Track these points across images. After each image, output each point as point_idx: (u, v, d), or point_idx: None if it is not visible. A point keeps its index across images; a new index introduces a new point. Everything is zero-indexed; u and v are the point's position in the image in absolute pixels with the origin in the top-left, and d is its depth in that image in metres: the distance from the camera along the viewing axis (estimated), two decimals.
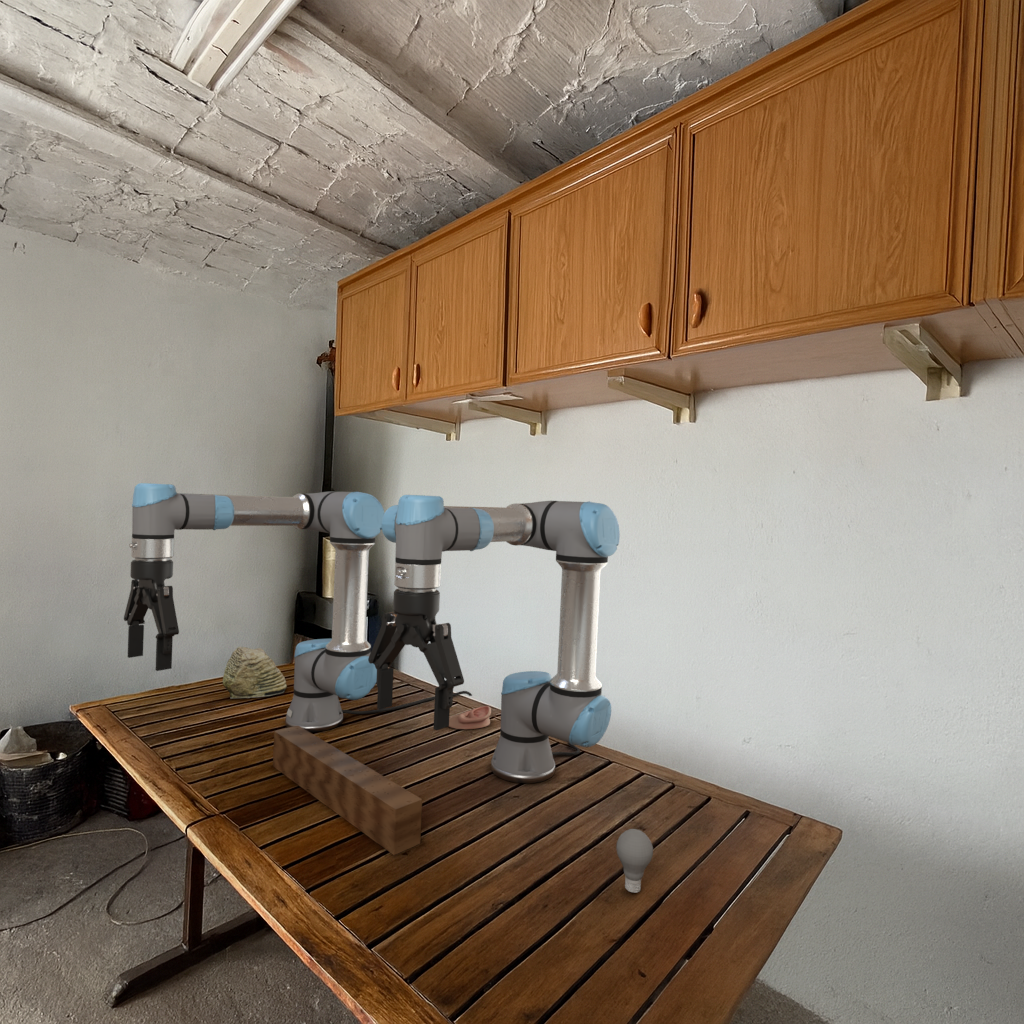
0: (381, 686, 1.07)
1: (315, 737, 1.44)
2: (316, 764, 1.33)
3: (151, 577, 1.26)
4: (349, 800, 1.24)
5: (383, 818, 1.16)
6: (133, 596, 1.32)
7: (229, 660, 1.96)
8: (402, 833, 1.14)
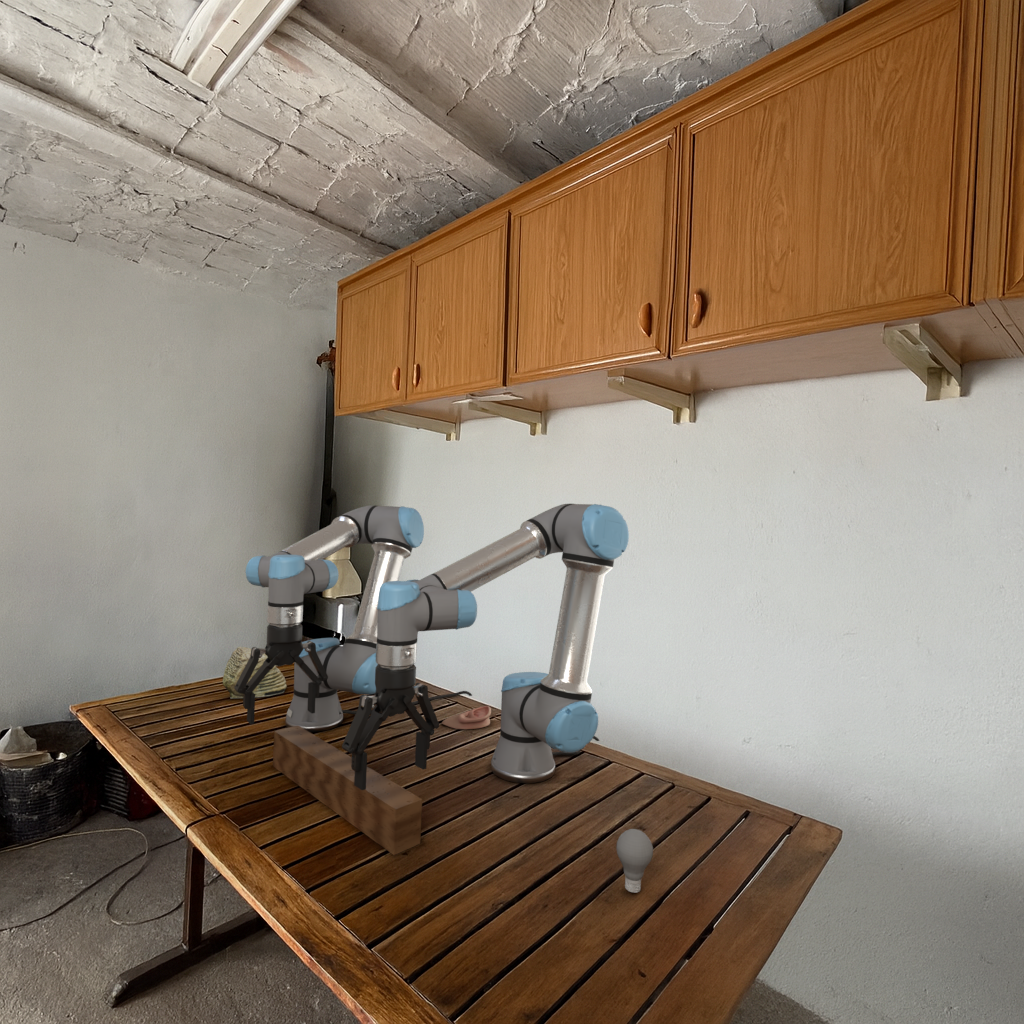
0: (366, 767, 1.14)
1: (315, 737, 1.44)
2: (316, 764, 1.33)
3: (301, 637, 1.44)
4: (349, 800, 1.24)
5: (383, 818, 1.16)
6: None
7: (229, 660, 1.96)
8: (402, 833, 1.14)
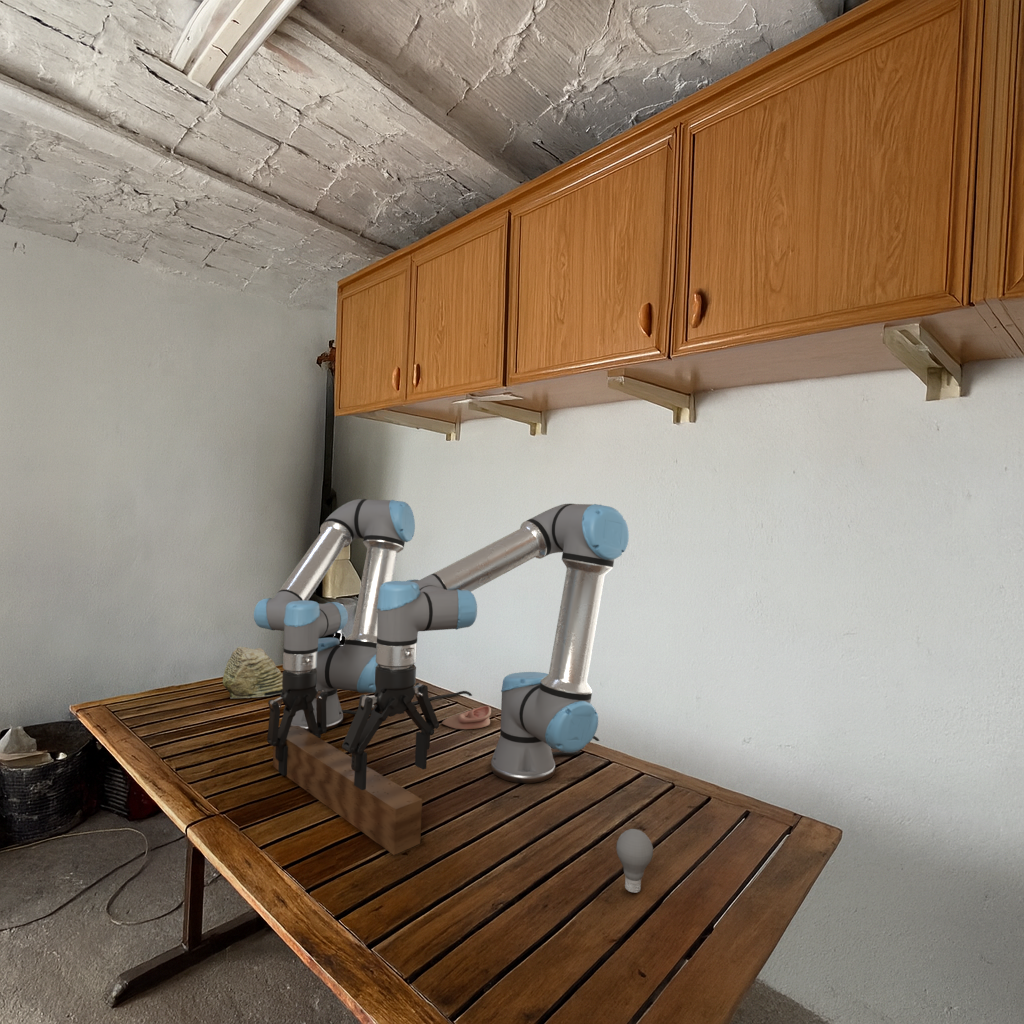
0: (366, 767, 1.14)
1: (315, 737, 1.44)
2: (316, 764, 1.33)
3: None
4: (348, 800, 1.24)
5: (383, 818, 1.16)
6: None
7: (229, 660, 1.96)
8: (402, 833, 1.14)
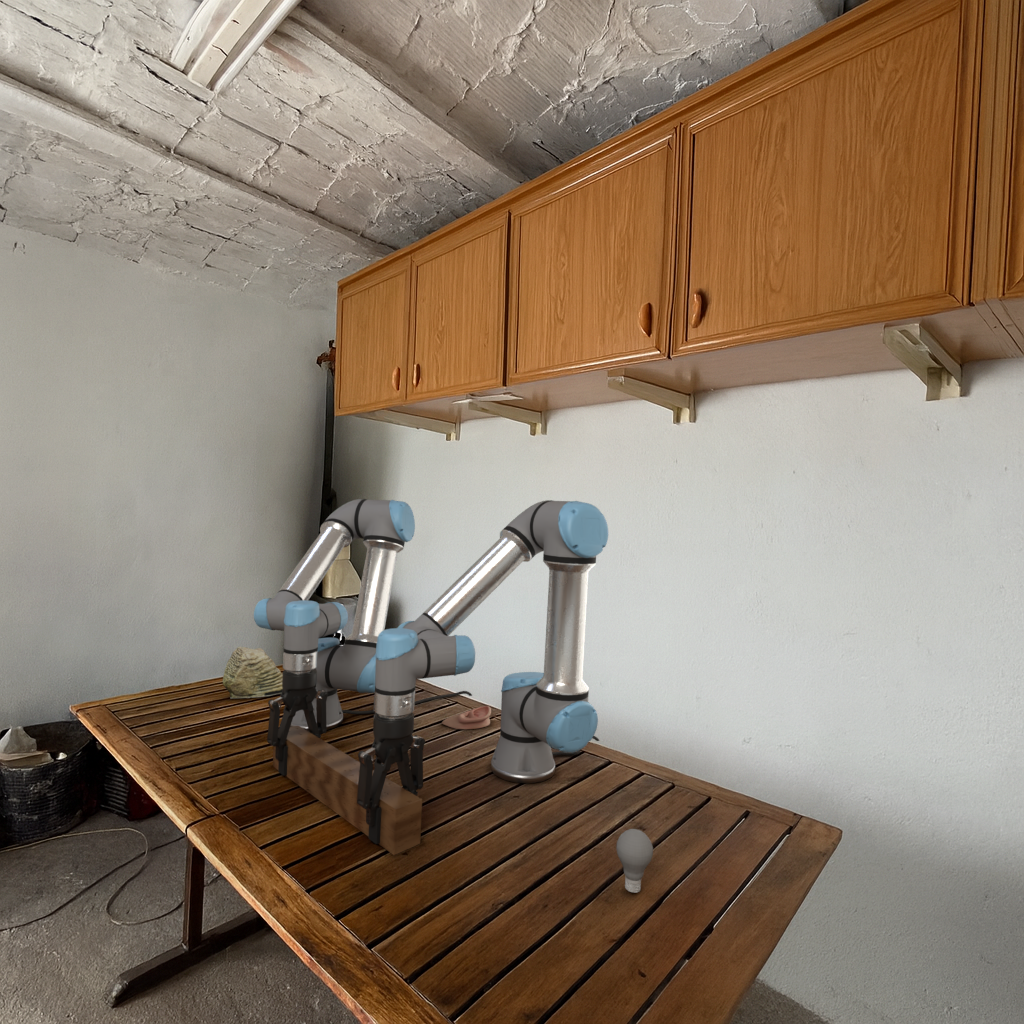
0: (380, 821, 1.16)
1: (315, 737, 1.44)
2: (316, 764, 1.33)
3: None
4: (348, 800, 1.24)
5: (383, 818, 1.16)
6: None
7: (229, 660, 1.96)
8: (402, 833, 1.14)
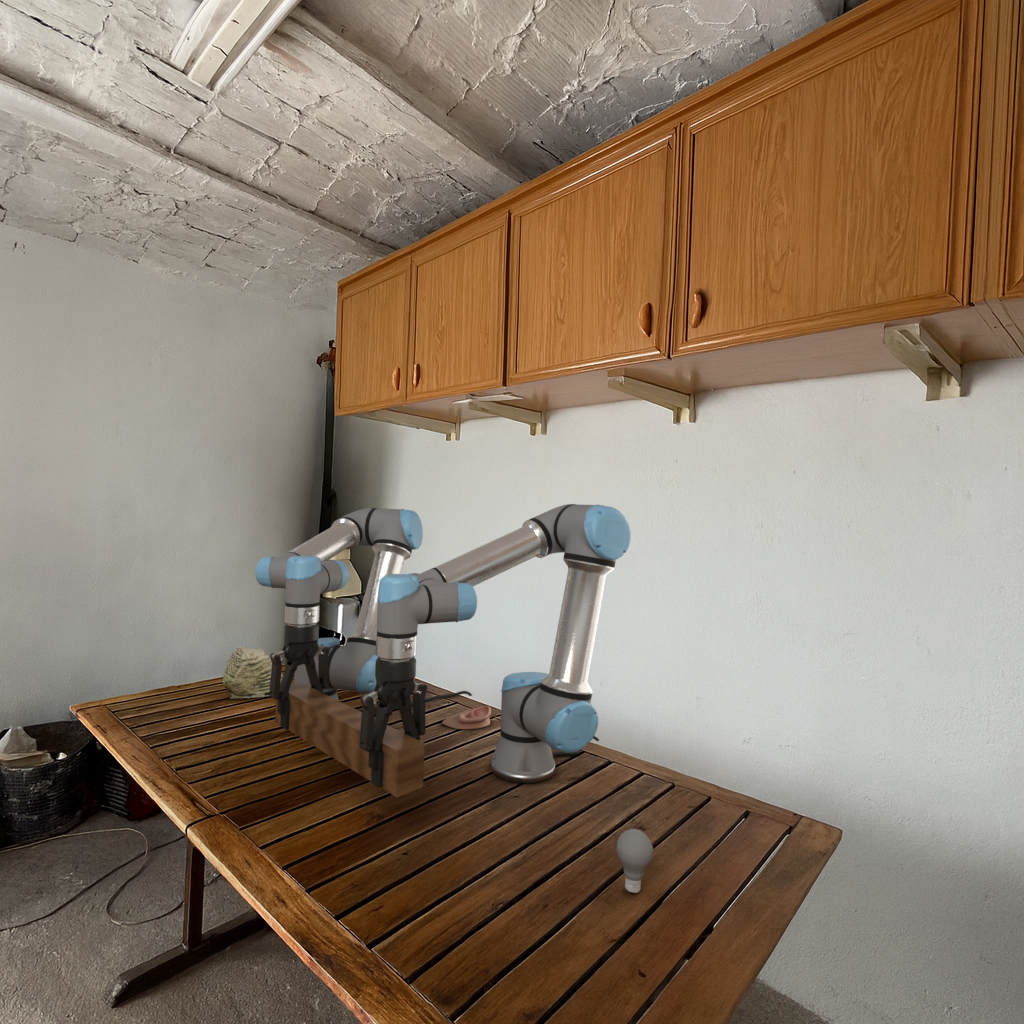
0: (382, 765, 1.16)
1: (317, 691, 1.44)
2: (319, 715, 1.33)
3: (318, 637, 1.46)
4: (351, 747, 1.24)
5: (386, 761, 1.15)
6: None
7: (229, 660, 1.96)
8: (405, 776, 1.14)
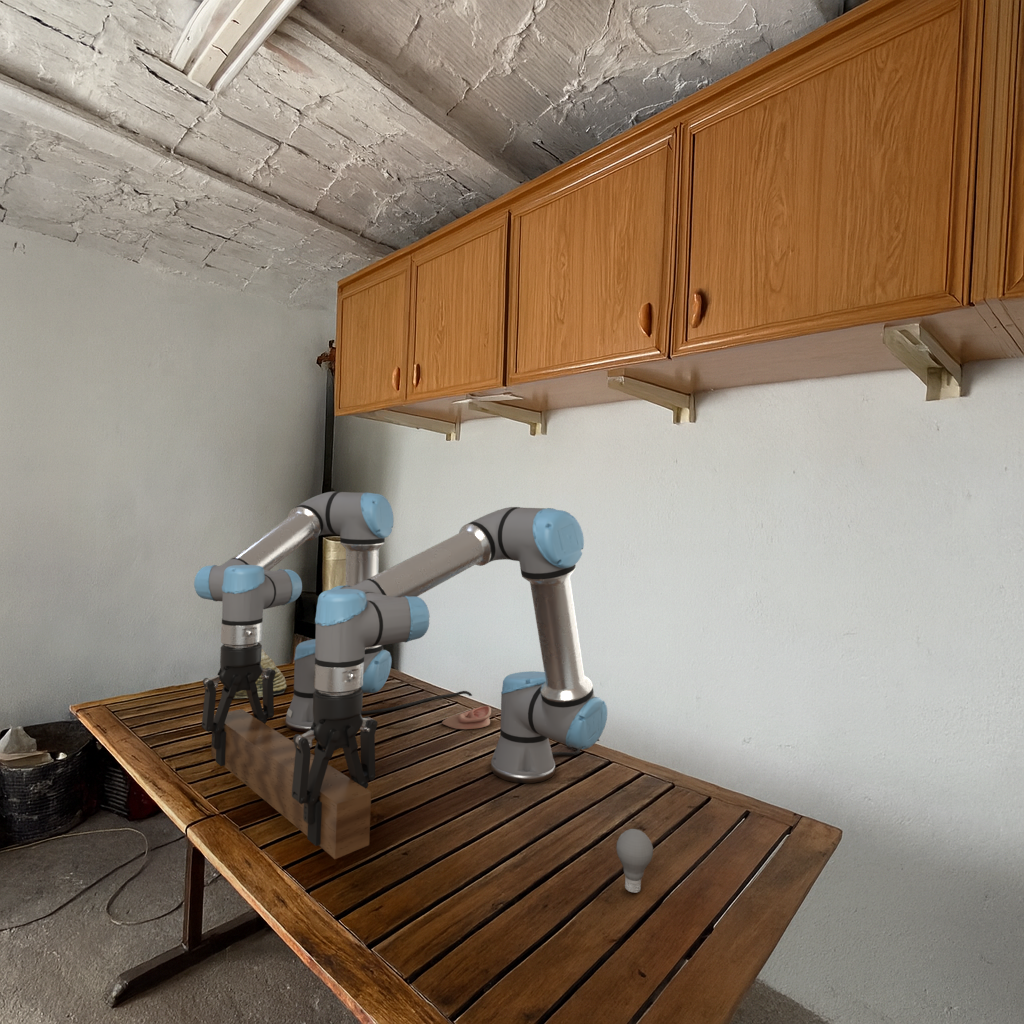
0: (320, 818, 0.97)
1: (258, 722, 1.25)
2: (255, 752, 1.14)
3: None
4: (287, 793, 1.05)
5: (324, 814, 0.96)
6: None
7: None
8: (345, 832, 0.95)
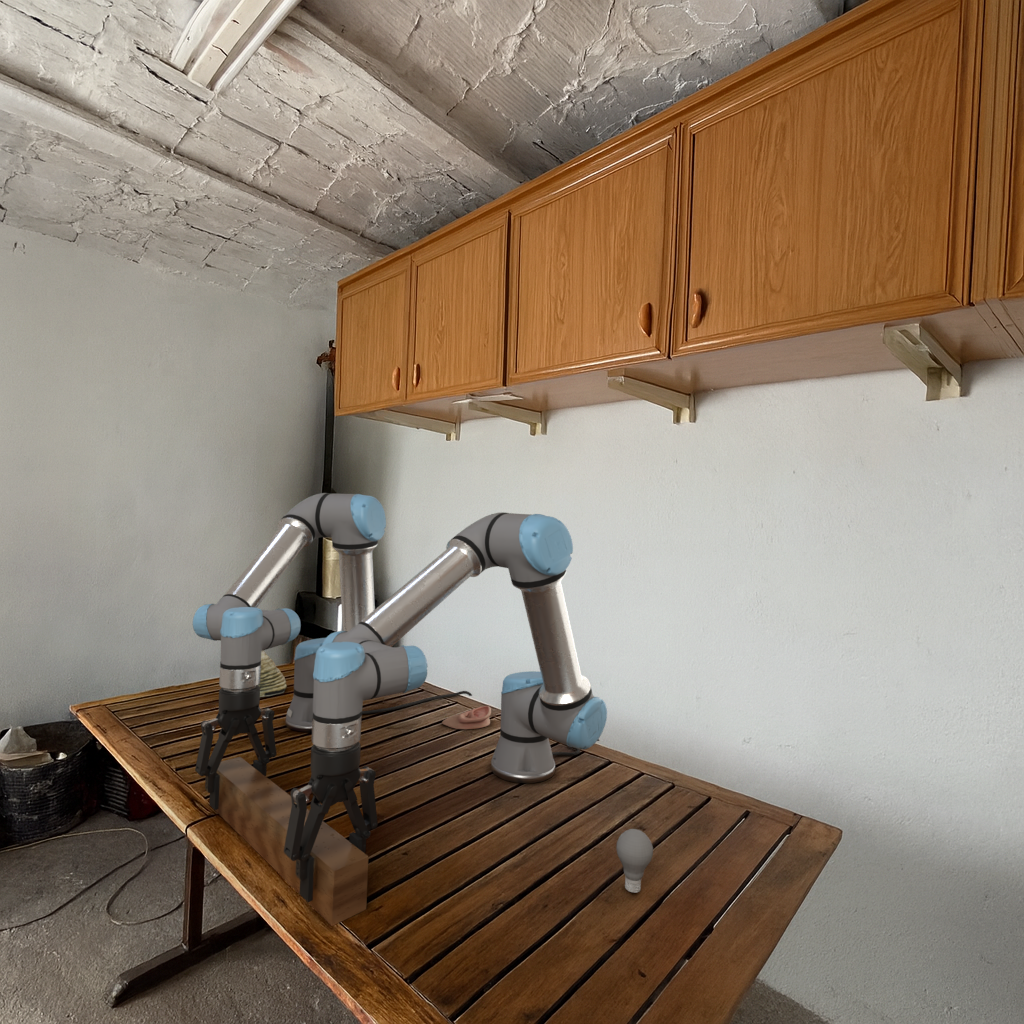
0: (312, 874, 0.96)
1: (257, 772, 1.25)
2: (252, 807, 1.14)
3: (259, 701, 1.27)
4: None
5: (321, 880, 0.96)
6: None
7: None
8: (342, 899, 0.95)
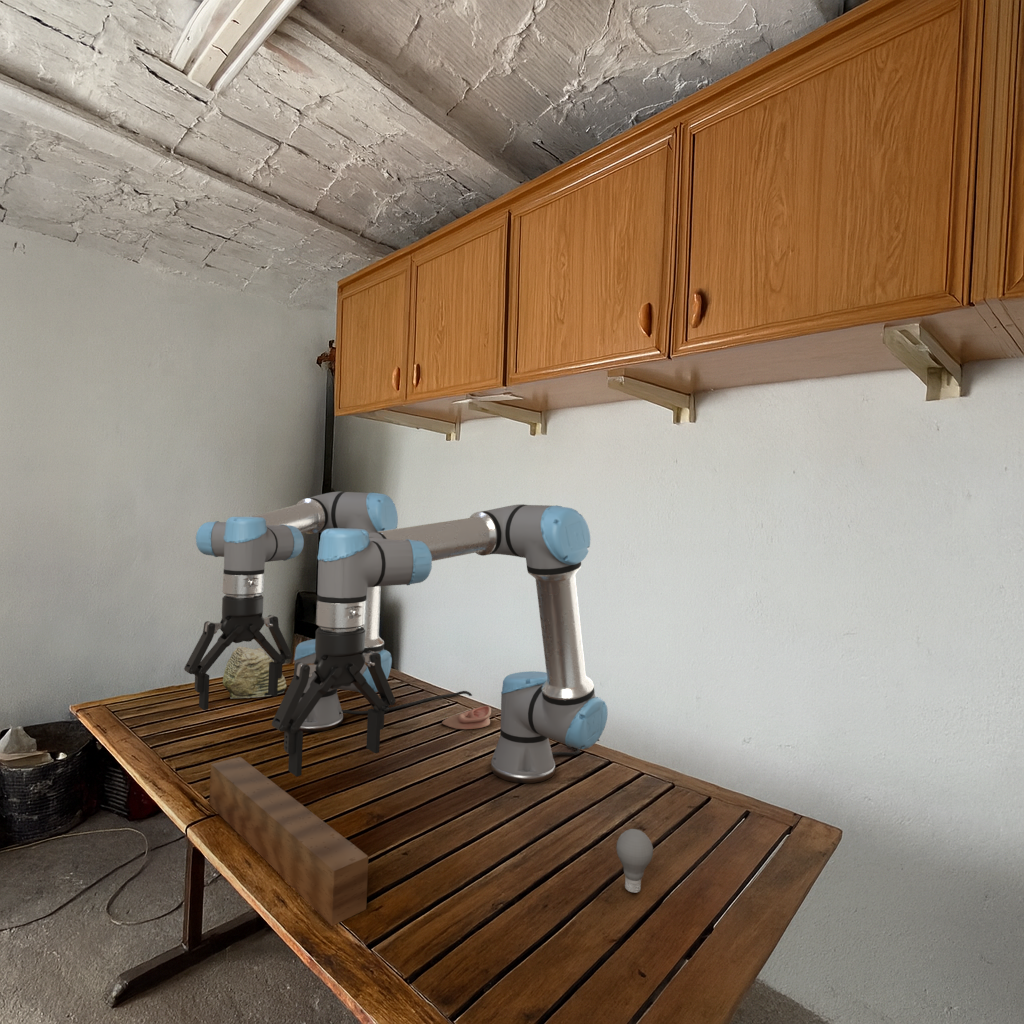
0: (301, 749, 0.94)
1: (257, 772, 1.25)
2: (252, 807, 1.14)
3: None
4: (285, 853, 1.05)
5: (321, 879, 0.96)
6: None
7: (229, 660, 1.96)
8: (342, 898, 0.95)
